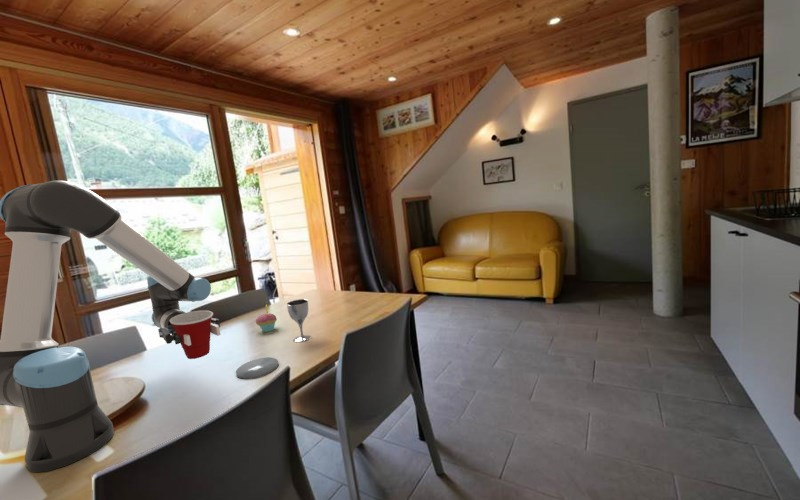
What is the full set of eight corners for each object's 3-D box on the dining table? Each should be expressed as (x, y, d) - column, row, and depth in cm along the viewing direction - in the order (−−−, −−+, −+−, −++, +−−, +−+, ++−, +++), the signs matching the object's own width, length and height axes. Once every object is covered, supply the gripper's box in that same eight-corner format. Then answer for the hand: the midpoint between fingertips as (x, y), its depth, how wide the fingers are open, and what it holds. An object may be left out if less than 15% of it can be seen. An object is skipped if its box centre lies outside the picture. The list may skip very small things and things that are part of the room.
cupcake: (282, 327, 153) (278, 301, 151) (265, 334, 146) (261, 307, 144) (269, 325, 157) (265, 299, 156) (253, 332, 150) (248, 305, 149)
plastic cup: (200, 363, 94) (192, 321, 93) (167, 363, 97) (159, 322, 95) (228, 346, 105) (221, 308, 103) (197, 346, 107) (190, 309, 105)
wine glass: (316, 337, 137) (311, 300, 135) (299, 344, 132) (293, 306, 129) (305, 333, 143) (300, 298, 141) (288, 340, 137) (282, 303, 135)
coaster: (247, 383, 105) (247, 380, 105) (229, 372, 114) (229, 369, 114) (285, 365, 115) (285, 363, 115) (266, 356, 123) (266, 354, 123)
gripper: (211, 323, 120) (241, 335, 105) (142, 345, 106) (165, 362, 90) (208, 302, 119) (237, 312, 104) (137, 321, 104) (160, 335, 89)
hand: (204, 335), depth 97 cm, fingers closed on plastic cup, 7 cm apart
